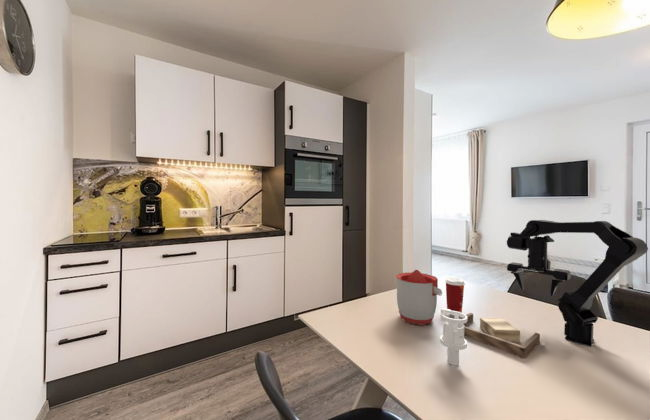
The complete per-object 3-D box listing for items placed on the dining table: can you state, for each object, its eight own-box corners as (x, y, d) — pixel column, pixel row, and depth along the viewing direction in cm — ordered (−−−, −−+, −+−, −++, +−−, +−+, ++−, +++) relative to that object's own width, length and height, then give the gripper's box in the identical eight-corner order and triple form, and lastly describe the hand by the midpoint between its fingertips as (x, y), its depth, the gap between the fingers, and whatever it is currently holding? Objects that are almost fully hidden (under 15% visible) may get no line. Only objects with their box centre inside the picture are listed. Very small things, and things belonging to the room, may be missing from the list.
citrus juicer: (435, 333, 97) (436, 277, 97) (389, 320, 108) (390, 270, 107) (446, 319, 110) (447, 269, 109) (404, 308, 120) (404, 263, 120)
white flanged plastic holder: (443, 352, 84) (444, 304, 84) (469, 361, 80) (470, 310, 80) (436, 363, 79) (437, 311, 79) (463, 372, 75) (464, 318, 74)
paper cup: (468, 316, 113) (468, 282, 112) (449, 315, 113) (449, 282, 112) (459, 308, 120) (459, 277, 120) (441, 308, 121) (441, 277, 120)
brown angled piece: (539, 342, 91) (539, 333, 91) (524, 358, 82) (524, 348, 81) (470, 320, 109) (470, 312, 108) (450, 331, 99) (451, 322, 99)
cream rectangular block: (519, 342, 92) (520, 330, 92) (495, 341, 92) (495, 329, 92) (502, 328, 102) (502, 318, 102) (480, 328, 102) (480, 317, 102)
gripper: (574, 253, 103) (573, 295, 103) (516, 247, 117) (515, 283, 118) (567, 257, 96) (566, 301, 96) (506, 250, 110) (506, 288, 111)
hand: (536, 292), depth 105 cm, fingers open, 9 cm apart
